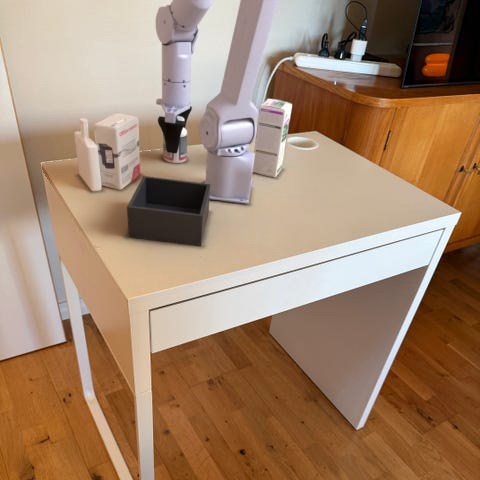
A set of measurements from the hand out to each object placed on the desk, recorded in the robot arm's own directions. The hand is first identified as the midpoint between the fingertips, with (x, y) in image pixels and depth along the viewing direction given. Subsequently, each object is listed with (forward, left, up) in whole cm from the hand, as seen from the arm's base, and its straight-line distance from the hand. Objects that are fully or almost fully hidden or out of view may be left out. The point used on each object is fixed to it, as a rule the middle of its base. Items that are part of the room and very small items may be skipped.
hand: (175, 146), depth 101 cm
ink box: (+9, +14, -3) cm, 17 cm away
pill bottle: (0, 0, -3) cm, 3 cm away
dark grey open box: (-4, +29, -3) cm, 29 cm away
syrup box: (-21, 0, -3) cm, 21 cm away
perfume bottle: (+14, +17, -3) cm, 22 cm away
